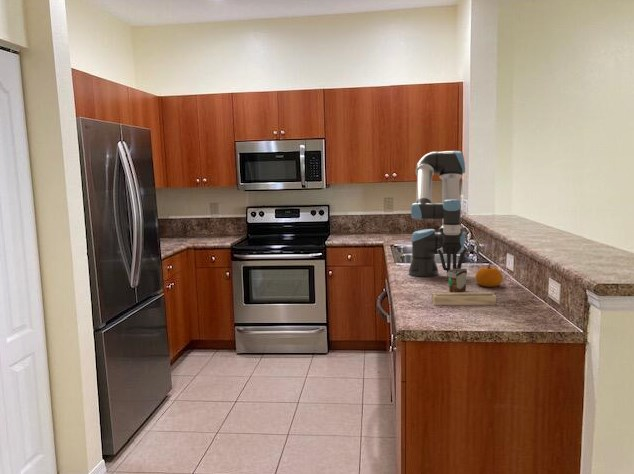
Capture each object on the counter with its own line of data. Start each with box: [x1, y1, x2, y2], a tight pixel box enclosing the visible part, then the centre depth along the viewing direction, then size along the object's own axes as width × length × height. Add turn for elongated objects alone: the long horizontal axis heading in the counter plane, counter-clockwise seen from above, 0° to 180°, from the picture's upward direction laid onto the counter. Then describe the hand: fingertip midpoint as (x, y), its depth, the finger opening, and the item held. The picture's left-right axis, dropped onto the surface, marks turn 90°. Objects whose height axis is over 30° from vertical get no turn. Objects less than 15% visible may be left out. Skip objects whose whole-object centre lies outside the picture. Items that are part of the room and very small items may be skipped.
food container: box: [446, 268, 468, 293], centre depth 210 cm, size 12×6×10 cm, turn 141°
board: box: [431, 291, 497, 306], centre depth 194 cm, size 6×24×4 cm, turn 85°
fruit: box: [475, 264, 503, 288], centre depth 221 cm, size 12×12×10 cm
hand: (451, 285), depth 217 cm, fingers closed
